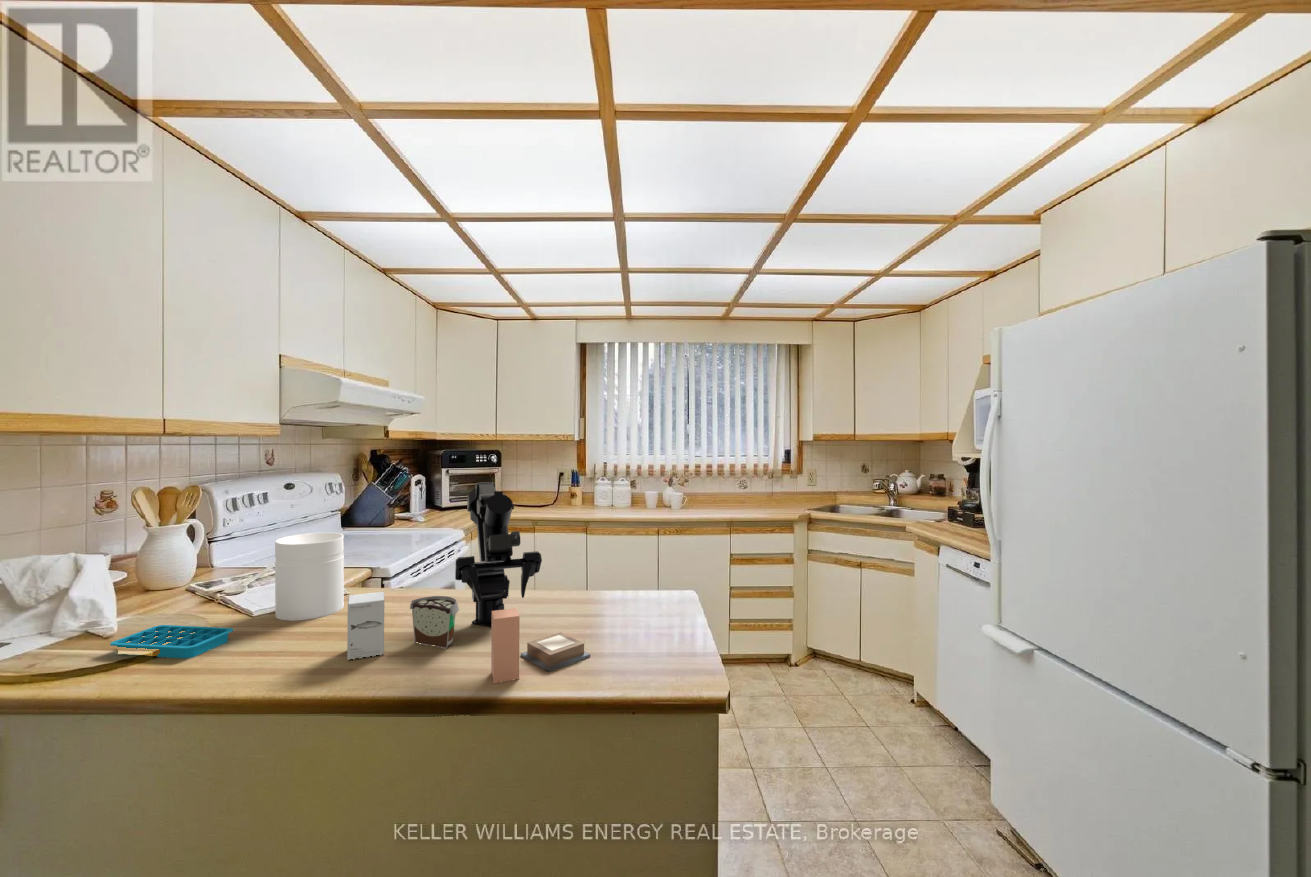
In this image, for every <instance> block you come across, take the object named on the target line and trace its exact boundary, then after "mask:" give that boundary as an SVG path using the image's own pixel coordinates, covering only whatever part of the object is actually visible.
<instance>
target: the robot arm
mask: <svg viewBox="0 0 1311 877" xmlns="http://www.w3.org/2000/svg"><path fill="white" fill-rule="evenodd" d="M474 487H475V488H473V489H472V490H471V491H470V492H468V494H467V502H466V505H467V506H466V508H467V512H468V513H469V517H470V520H471V521H472V522H473V523H474V524H475V525H476V532H477V543H478V554H479V561H475V559H476V558H475V556H474V555H470V556H460V557H459V556H458V557H457V558H456V559H455V567H454V570H455V571H454V578H455V579H454V580H456V581H461V583H463V584H464V583H465V584H466V585H467V586H468V587H469V588H470V590H471V598H472V601H473V603H475V619H474V620H472V621H471V624H473V625H479V626H480V625H481V626H484V627H485V626H487V627H492V611H496V610H505V603H504V599H507V598H508V597H509V589H510V584H511V583H510V579H508V575H507V574H505V570H506V569H517V568H518V569H519V568H520V569H521V574H520V594H521V598H522V599H524V597H525V594H526V589H527V584H528V583H529V582H528V581H529V579H530V577H531V578H532V577H534V576H535V574H537V573H539V572H540V569H541V565H542V561H543V559H542V554H541V552H539V551H538V550H537V551H535V550H534V551H526V552H525V551H524V552H523V553H522V558H513V559H512V557H513V552H514V550H513V547H519V546H520V545H521V534H520V530H517V531H515V530H512V531H511V533H509V524H510V521H511V517H512V512H513V510H515V505H514V504H515V503H513V500H512V499H511V498H510V497H509V496H508V495H507V494H505V493H503V490H497V489H496V485H495V482H492V481H487V482H478V483H475V486H474Z"/></svg>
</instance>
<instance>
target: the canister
mask: <svg viewBox="0 0 1311 877" xmlns="http://www.w3.org/2000/svg"><path fill="white" fill-rule="evenodd" d="M344 545H345V544H344V534H342V533H340V532H307V533H299V534H294V535H287V536H284V537H280V538H278V539H275V541H274V558H275V562H274V566H275V567H274V568H275V569H274V571H275V572H274V579H275V582H274V584H275V586H274V588H275V589H274V591H275V593H274V594H275V598H274V599H275V600H274V601H275V606H274V607H275V608H274V609H275V610H274V612H275V615H274V616H275V618H276V619H278V620H282V621H290V622H295V621H307V620H315V619H318V618H319V619H320V618H323V617H328V616H330V615H333V614H335V613H338V612H340V611H341V610H343V608H344V607H345V604H344V602H345V593H344V592H345V589H344V588H345V586H344V585H345V584H344V583H345V579H344V577H345V573H344V572H345V567H344V566H345V565H344V564H345V563H344V562H345V558H344V551H345V550H344V549H345V548H344Z"/></svg>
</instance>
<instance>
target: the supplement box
mask: <svg viewBox="0 0 1311 877" xmlns="http://www.w3.org/2000/svg"><path fill="white" fill-rule="evenodd" d="M346 638H347V641H346V642H347V643H346V644H347V646H346V647H347V648H346V649H347V650H346V652H347V654H346V657H347V659H348V660H349V659H353V658H359V659H364V658H363V657H366V658H370V656H372V657H377V656H376V655H380V656H383V655H382V654H385V592H384V591H377V592H370V593H369V592H368V593H358V594H351V595H348V598H347V637H346ZM348 660H347V661H348ZM353 660H354V659H353Z"/></svg>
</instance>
